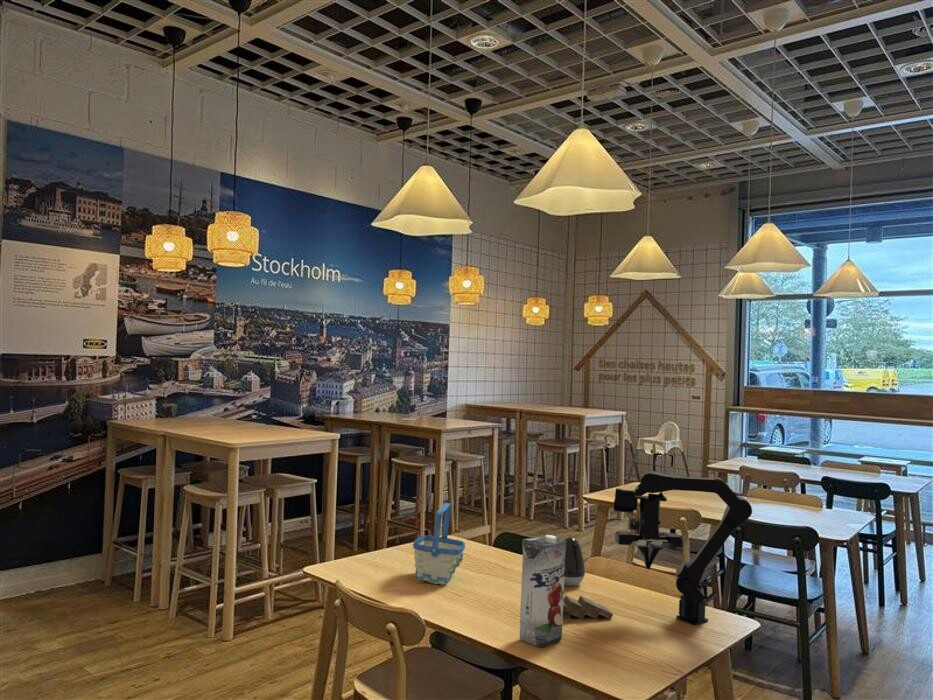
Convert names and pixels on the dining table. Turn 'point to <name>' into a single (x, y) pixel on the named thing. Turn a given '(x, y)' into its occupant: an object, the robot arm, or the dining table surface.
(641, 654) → the dining table surface
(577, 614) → the domino
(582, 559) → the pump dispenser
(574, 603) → the domino
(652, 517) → the robot arm
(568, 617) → the domino
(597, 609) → the domino
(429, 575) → the basket
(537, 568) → the juice carton
